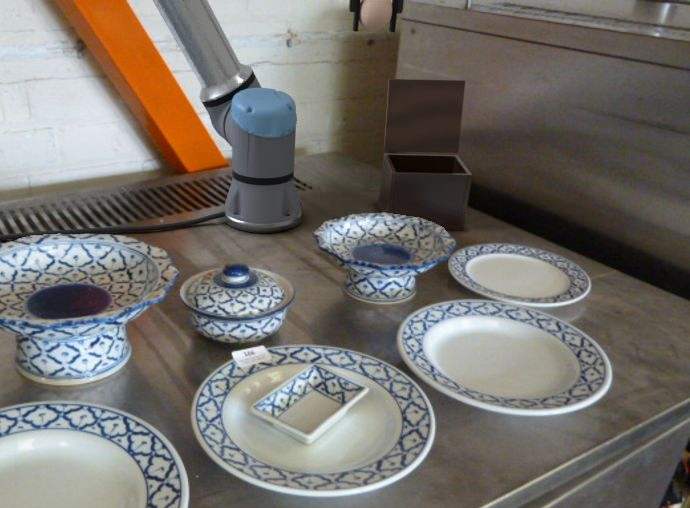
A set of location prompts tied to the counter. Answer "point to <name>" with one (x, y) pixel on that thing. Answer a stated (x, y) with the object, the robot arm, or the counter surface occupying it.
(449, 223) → the chest
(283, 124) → the robot arm
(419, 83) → the lid
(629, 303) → the counter surface
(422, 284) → the counter surface
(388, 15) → the egg
